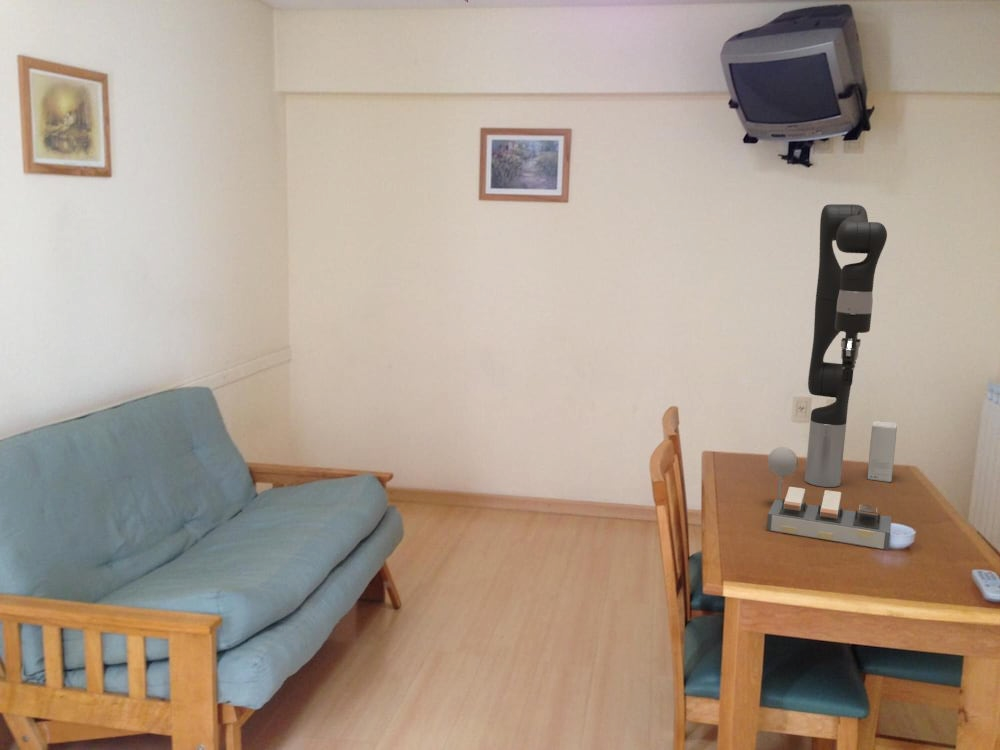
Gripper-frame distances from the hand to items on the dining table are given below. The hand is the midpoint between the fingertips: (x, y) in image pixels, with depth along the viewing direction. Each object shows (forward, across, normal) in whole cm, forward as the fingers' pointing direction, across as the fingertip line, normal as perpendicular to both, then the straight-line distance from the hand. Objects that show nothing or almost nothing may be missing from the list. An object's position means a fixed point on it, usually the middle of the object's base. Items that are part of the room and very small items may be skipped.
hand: (846, 384), depth 210 cm
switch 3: (+27, +8, +8) cm, 29 cm away
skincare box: (+34, -48, +8) cm, 60 cm away
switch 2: (+27, +8, 0) cm, 28 cm away
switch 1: (+27, +8, -8) cm, 29 cm away
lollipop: (+34, -7, -14) cm, 37 cm away
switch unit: (+33, +8, 0) cm, 34 cm away
